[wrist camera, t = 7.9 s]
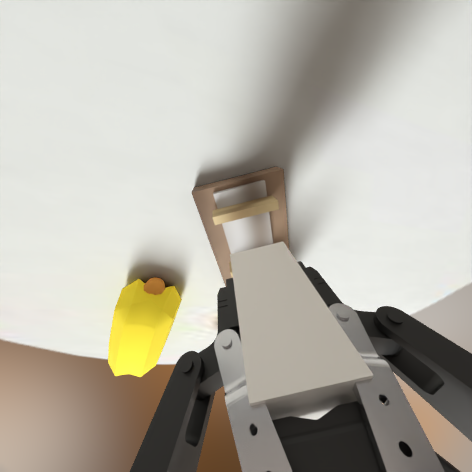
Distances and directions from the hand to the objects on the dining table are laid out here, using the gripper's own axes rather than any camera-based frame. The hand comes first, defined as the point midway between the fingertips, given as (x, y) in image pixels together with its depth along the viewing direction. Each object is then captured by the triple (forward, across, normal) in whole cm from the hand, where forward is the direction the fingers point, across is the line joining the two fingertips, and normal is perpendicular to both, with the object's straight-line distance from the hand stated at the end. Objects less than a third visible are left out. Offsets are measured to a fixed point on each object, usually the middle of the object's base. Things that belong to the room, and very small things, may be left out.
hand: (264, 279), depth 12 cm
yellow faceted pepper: (+10, +18, +12) cm, 23 cm away
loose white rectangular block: (+1, 0, 0) cm, 1 cm away
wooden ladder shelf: (+10, 0, +8) cm, 12 cm away
